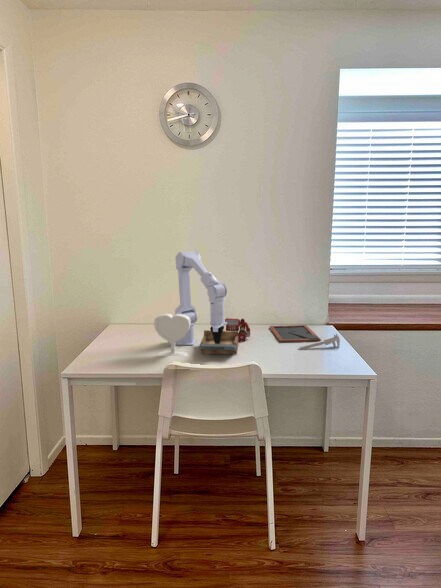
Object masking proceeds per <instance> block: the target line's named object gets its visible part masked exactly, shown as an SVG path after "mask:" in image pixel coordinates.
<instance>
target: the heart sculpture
mask: <svg viewBox="0 0 441 588" xmlns="http://www.w3.org/2000/svg"><path fill="white" fill-rule="evenodd" d="M190 324H191V321H190V318H189V317H188V316H186V315H184V314H175V313H174V315H173V314H171V313H169V312H168V313H162V314H158V315H157V316H156V317H155V318H154V321H153V327H154V329H155V331H156V333H157V335H158V336H159V337H161V338H162V339H163V340H165V341H167V342H168V343H170V351H160V352H158V356H160V355H162V357H163V355H164V357H166V356H167V357H187V356H189V353H188V352H186V351H176V345H175V342H176V341H178V340H180V339H181V338H183V337H184V336H185V335H186V333H187V332H188V330H189V329H190Z"/></svg>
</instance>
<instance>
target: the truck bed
mask: <svg viewBox="0 0 441 588" xmlns="http://www.w3.org/2000/svg"><path fill="white" fill-rule="evenodd" d="M238 333H239V331H226V330H223V332H222V335H221V341H220V344H234V345H235V346H236V351H232V350H201V349H200V354H216V355H217V354H218V355H238V349H239V340H238ZM200 344H215V342H214V338H213V334H212V332H211V330H209V329H206V330H203V337H202V339H201V341H200Z"/></svg>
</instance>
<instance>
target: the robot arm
mask: <svg viewBox="0 0 441 588" xmlns="http://www.w3.org/2000/svg"><path fill="white" fill-rule="evenodd" d="M192 269H193V270H194V271H196V272H197V274H198V275H199V277H200V282H201V283H202V284H203V286H204V287H205V289H206V291H207V292H206V293H207V296H208V301H209V303H210V307H209V308H210V311H209V312H210V314H209V315H210V322H209V324H210V328H209V329H210V330H211V332H212V334H213V338H214V342H215V344H220V341H221V335H222V332H223V331H224V329H225V326H226V325H227V322H225V297H226V296H227V293H228V291H227V290H228V289H227V286H226V285H225V283H222V282H219V280H218V279H217V278H216V277H215V276H214V274H213V273H212V272H211V271H207V269H206V267H205V265H204V264H203V262H202V256H201V255H200V253H199V251H197V250H194V251H179V252H177V254H176V255H175V270H177V276H178V277H177V278H178V290H179V291H178V294H179V305H178V306H177V307H176V308H175V309H174V312H175V313H174V315H175V314H184V315H186V316H188V317H189V318H190V321H191V324H190V329H189V330H188V332H187V333H186V335H185V336H184V337H183V338H181V339H180V340H178V341H176V342H175V346H176V345H177V346H178V345H179V346H194V345H195V342H196V341H197V339H195V329H194V328H195V327H194V326H195V325H196V322H197V321H198V313H197V309H196V307H195V306H194V305H192V298H191V297H192V296H191V282H190V271H191V270H192Z"/></svg>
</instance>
